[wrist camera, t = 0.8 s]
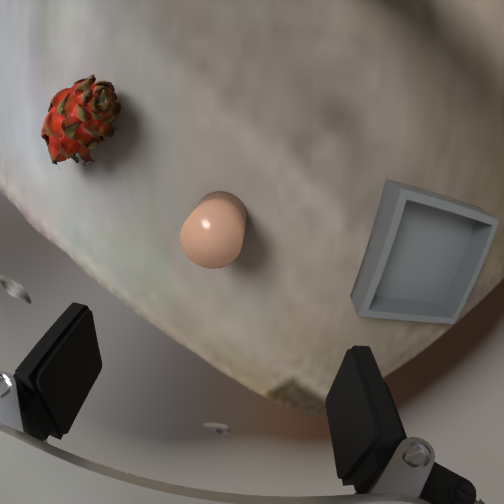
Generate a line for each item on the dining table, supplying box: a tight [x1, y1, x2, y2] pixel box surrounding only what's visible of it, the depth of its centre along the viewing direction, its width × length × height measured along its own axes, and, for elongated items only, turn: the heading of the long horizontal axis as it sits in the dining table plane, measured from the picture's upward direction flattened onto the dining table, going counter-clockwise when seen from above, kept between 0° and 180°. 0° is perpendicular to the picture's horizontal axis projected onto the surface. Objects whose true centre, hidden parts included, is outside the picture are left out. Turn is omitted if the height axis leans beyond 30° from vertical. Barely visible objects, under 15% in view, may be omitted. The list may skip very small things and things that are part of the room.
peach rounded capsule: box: [180, 191, 247, 269], centre depth 32 cm, size 6×6×7 cm
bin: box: [351, 179, 500, 324], centre depth 34 cm, size 16×16×4 cm
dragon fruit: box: [41, 75, 121, 166], centre depth 27 cm, size 8×8×12 cm
